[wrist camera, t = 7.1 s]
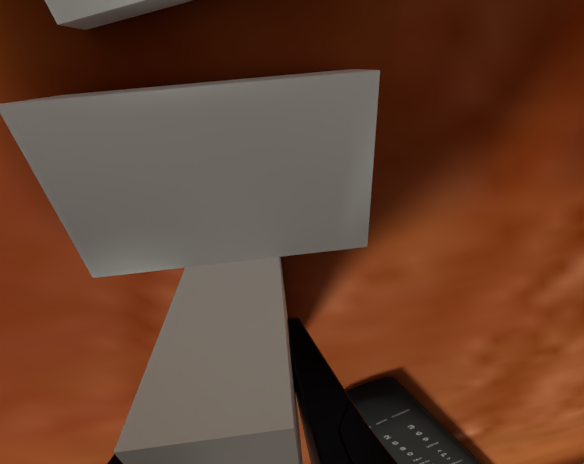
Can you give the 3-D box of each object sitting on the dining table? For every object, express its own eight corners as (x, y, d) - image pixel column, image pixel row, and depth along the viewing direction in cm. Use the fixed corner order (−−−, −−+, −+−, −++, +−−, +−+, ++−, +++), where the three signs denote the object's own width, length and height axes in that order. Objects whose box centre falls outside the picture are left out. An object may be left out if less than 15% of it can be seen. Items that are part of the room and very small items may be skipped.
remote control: (446, 496, 27) (455, 515, 26) (303, 402, 16) (306, 428, 15) (500, 477, 26) (511, 497, 25) (383, 361, 15) (394, 386, 14)
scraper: (343, 352, 13) (399, 549, 7) (185, 372, 12) (130, 590, 7) (351, 69, 7) (595, 77, 2) (63, 94, 7) (-577, 186, 2)
